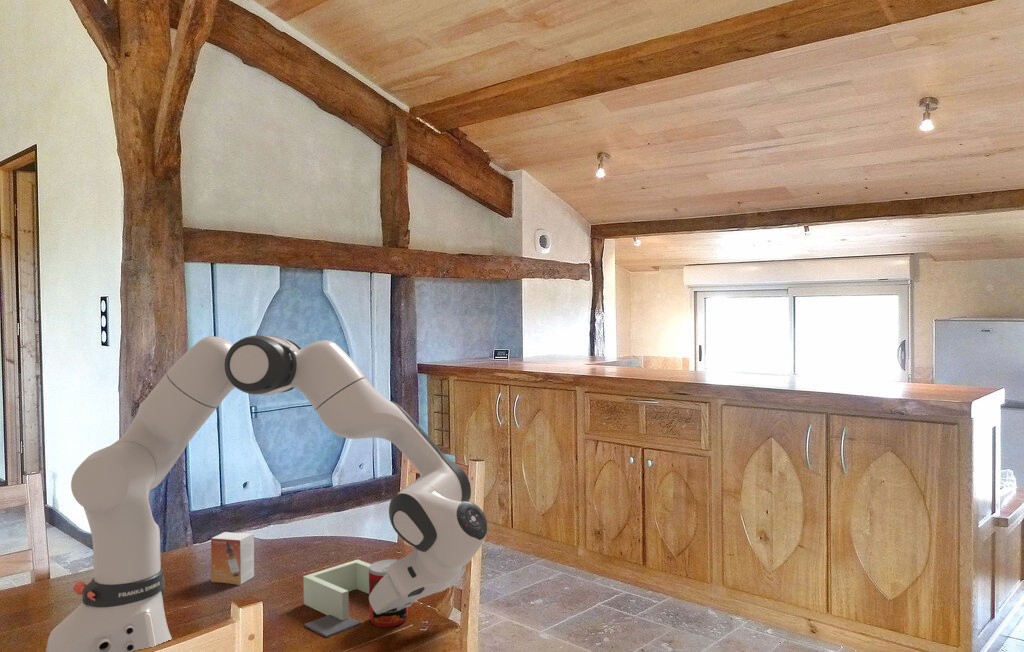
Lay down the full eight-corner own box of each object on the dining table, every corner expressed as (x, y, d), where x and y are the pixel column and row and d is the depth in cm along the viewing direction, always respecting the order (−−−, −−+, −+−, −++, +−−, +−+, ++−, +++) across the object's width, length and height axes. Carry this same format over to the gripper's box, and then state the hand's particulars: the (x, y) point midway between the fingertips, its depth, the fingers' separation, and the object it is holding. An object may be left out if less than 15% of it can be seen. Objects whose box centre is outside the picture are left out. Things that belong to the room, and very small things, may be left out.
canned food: (371, 630, 142) (370, 574, 142) (368, 613, 150) (367, 561, 150) (410, 625, 144) (409, 570, 144) (405, 609, 152) (404, 557, 152)
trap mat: (326, 637, 139) (326, 635, 139) (304, 626, 144) (304, 624, 144) (361, 624, 145) (361, 622, 145) (338, 613, 150) (338, 611, 150)
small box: (210, 582, 169) (209, 538, 169) (225, 574, 175) (224, 531, 174) (241, 585, 167) (239, 540, 167) (255, 576, 173) (254, 532, 173)
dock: (342, 622, 146) (342, 592, 146) (303, 604, 156) (303, 576, 155) (397, 601, 156) (397, 573, 156) (358, 585, 166) (357, 559, 166)
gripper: (465, 539, 146) (433, 577, 153) (382, 566, 131) (352, 606, 138) (480, 566, 143) (448, 603, 150) (398, 597, 128) (366, 636, 135)
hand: (401, 605), depth 144 cm, fingers closed, pressing on canned food
